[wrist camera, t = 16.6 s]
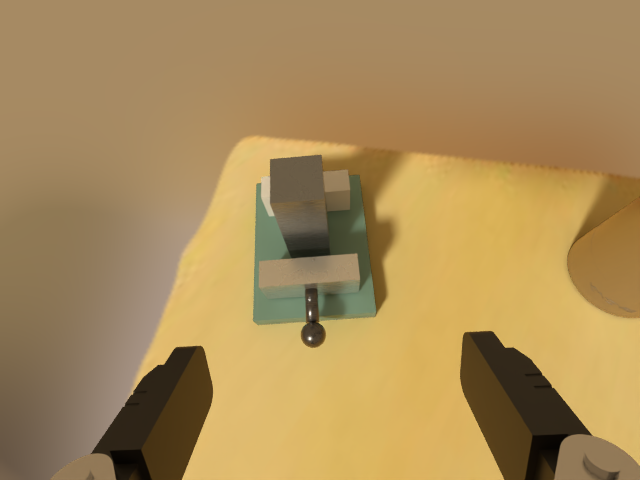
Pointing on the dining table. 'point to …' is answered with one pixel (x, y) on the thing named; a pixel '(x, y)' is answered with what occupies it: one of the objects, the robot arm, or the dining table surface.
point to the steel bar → (300, 205)
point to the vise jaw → (310, 285)
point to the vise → (344, 239)
